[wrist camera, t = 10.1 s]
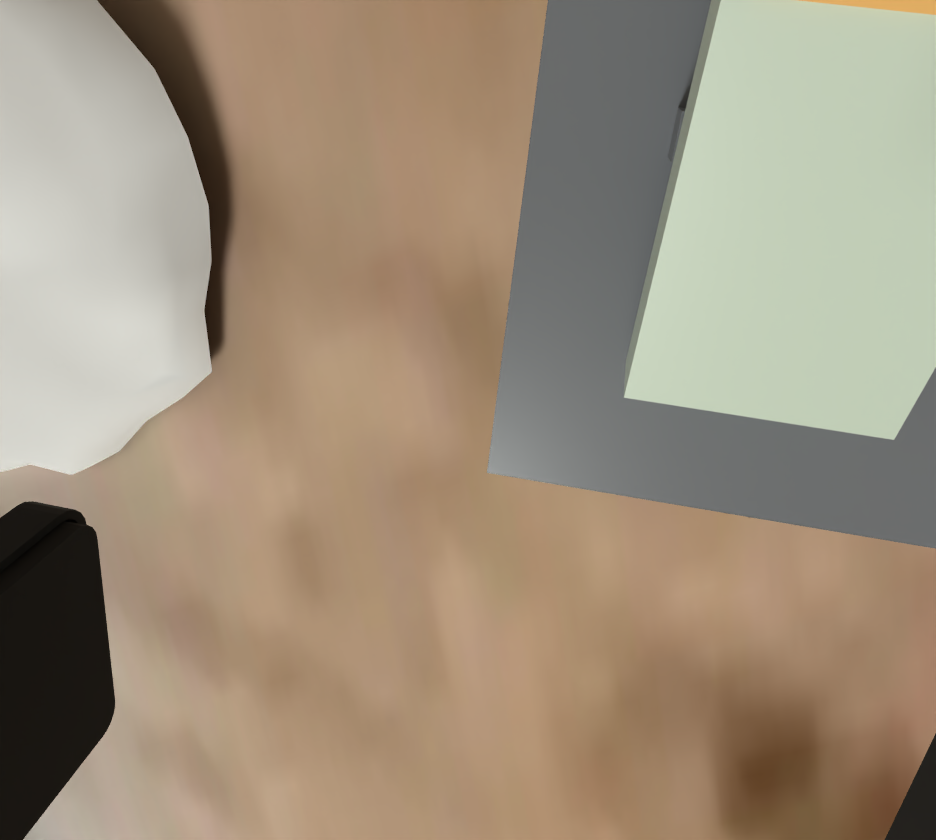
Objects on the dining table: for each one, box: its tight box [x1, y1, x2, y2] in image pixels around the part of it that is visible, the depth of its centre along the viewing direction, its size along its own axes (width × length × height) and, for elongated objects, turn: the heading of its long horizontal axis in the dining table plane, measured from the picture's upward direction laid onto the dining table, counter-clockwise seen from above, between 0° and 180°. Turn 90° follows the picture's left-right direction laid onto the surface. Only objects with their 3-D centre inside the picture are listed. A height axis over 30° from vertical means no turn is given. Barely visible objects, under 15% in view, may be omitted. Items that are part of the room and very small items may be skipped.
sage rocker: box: [624, 0, 936, 440], centre depth 15 cm, size 11×6×2 cm, turn 175°
